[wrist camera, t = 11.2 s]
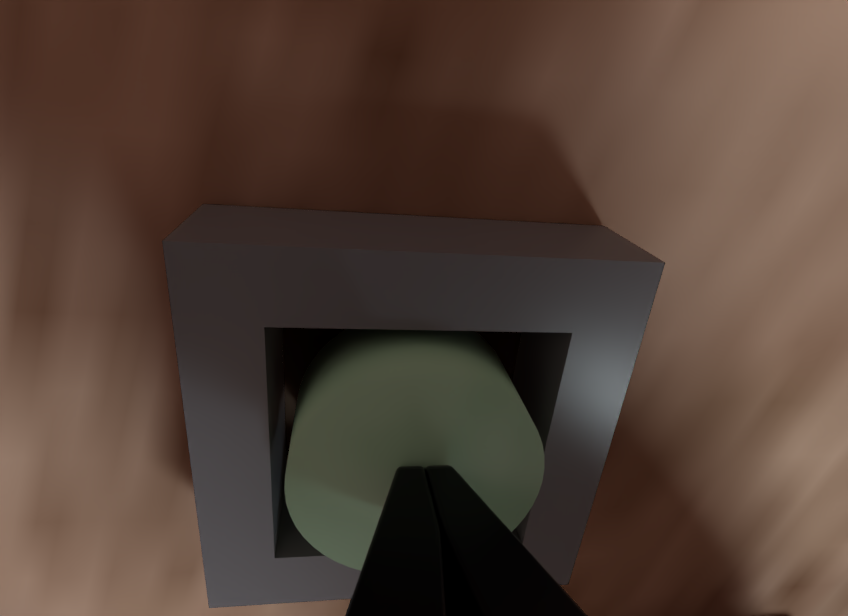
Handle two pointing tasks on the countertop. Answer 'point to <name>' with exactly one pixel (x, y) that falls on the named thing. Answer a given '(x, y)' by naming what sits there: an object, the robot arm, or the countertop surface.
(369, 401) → the button
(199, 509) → the button housing
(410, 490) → the robot arm
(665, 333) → the countertop surface
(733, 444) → the countertop surface
